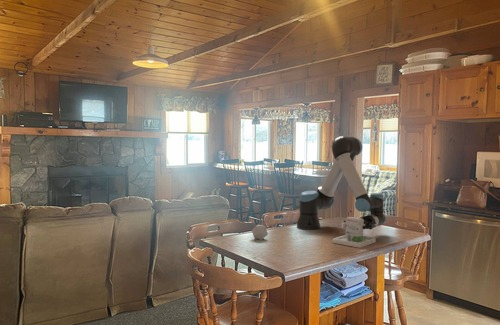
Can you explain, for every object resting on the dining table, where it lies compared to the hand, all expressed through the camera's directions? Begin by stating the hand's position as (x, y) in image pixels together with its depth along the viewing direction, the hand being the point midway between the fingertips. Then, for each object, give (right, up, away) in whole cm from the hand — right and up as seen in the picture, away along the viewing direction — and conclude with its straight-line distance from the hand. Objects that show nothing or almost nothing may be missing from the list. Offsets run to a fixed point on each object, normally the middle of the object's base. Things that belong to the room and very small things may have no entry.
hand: (350, 226), depth 203 cm
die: (-48, -9, +10) cm, 50 cm away
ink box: (+3, -8, +4) cm, 9 cm away
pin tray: (+3, -9, +3) cm, 10 cm away
